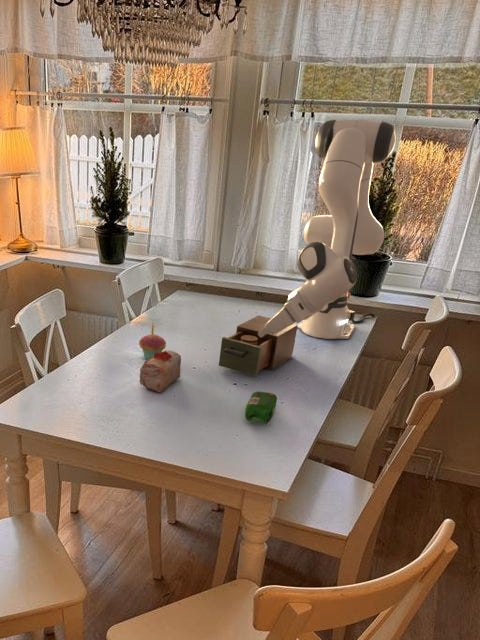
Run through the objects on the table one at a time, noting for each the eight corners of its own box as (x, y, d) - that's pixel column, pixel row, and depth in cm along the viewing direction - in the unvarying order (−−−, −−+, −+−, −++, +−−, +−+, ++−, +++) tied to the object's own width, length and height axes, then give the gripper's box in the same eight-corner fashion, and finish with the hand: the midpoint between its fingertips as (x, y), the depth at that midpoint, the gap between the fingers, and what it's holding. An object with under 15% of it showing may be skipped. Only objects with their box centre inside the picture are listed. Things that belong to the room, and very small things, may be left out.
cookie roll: (242, 358, 204) (246, 333, 200) (256, 362, 202) (260, 337, 198) (234, 362, 201) (238, 338, 197) (249, 366, 198) (253, 342, 194)
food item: (161, 395, 183) (164, 362, 178) (136, 389, 186) (138, 356, 181) (182, 379, 193) (185, 347, 188) (158, 373, 196) (160, 342, 191)
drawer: (249, 380, 192) (253, 351, 188) (212, 369, 199) (215, 341, 194) (275, 363, 204) (280, 336, 200) (239, 353, 211) (243, 327, 206)
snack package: (240, 426, 169) (243, 408, 166) (251, 402, 181) (254, 385, 178) (268, 432, 167) (271, 413, 164) (276, 407, 179) (280, 390, 176)
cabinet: (271, 370, 202) (277, 336, 197) (232, 358, 209) (237, 326, 204) (291, 357, 213) (297, 324, 207) (253, 346, 219) (258, 315, 214)
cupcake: (162, 363, 203) (165, 326, 197) (135, 360, 205) (137, 323, 198) (166, 354, 211) (169, 317, 204) (140, 351, 212) (142, 314, 206)
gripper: (305, 286, 193) (267, 312, 202) (287, 303, 178) (247, 331, 186) (317, 303, 194) (279, 329, 203) (300, 322, 178) (260, 349, 187)
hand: (264, 330), depth 195 cm, fingers open, 8 cm apart
